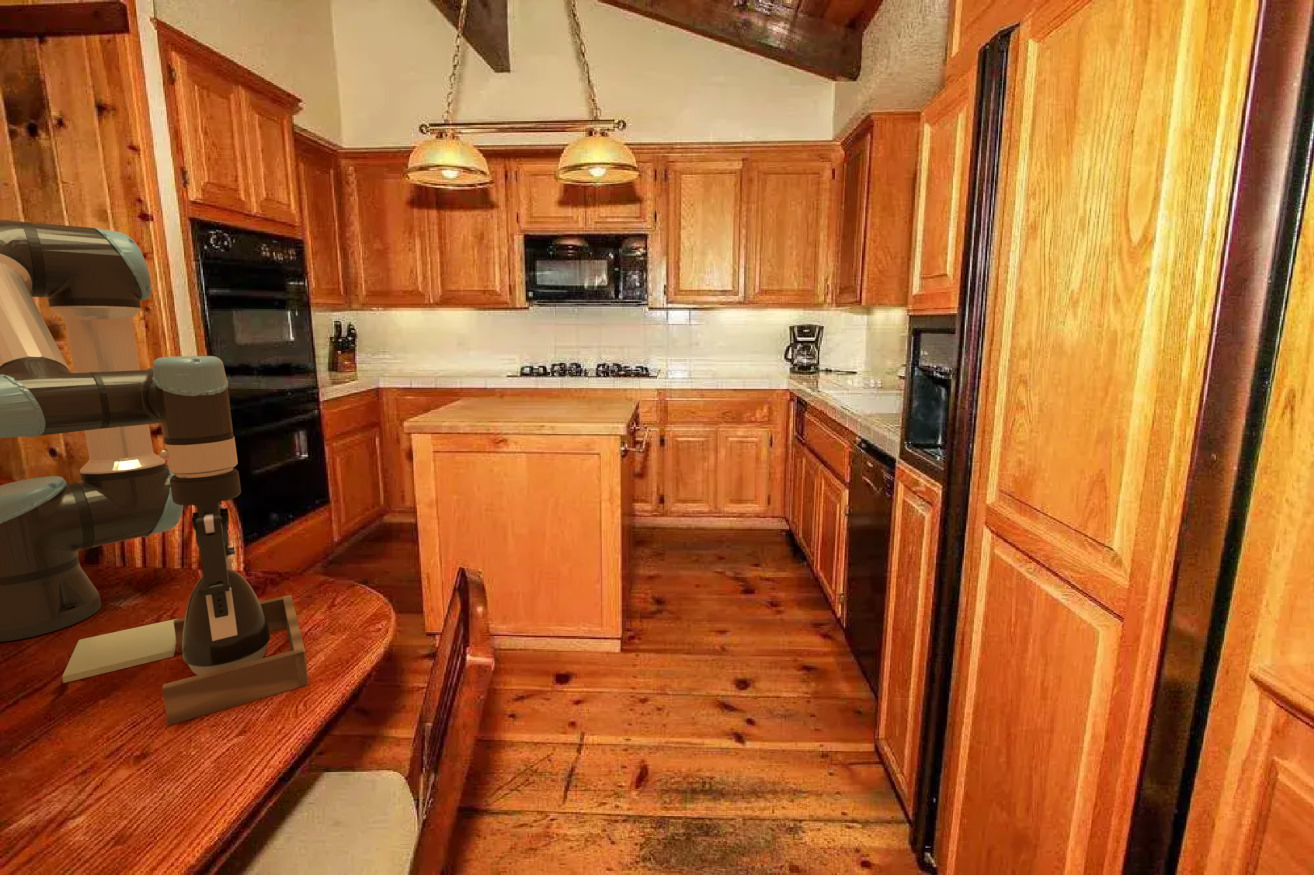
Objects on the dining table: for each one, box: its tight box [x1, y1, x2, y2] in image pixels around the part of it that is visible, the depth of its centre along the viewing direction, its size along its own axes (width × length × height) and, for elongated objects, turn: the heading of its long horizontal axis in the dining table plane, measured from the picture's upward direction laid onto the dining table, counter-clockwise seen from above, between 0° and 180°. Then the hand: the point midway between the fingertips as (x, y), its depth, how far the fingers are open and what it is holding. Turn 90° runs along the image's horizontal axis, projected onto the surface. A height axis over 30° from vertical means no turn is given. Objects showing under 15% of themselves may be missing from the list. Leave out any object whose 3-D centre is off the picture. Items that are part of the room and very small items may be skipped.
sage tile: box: [61, 618, 177, 684], centre depth 91 cm, size 12×12×1 cm
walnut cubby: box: [162, 594, 310, 726], centre depth 87 cm, size 21×15×5 cm
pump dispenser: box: [181, 569, 271, 676], centre depth 85 cm, size 10×10×15 cm
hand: (225, 617), depth 85 cm, fingers open, 13 cm apart
